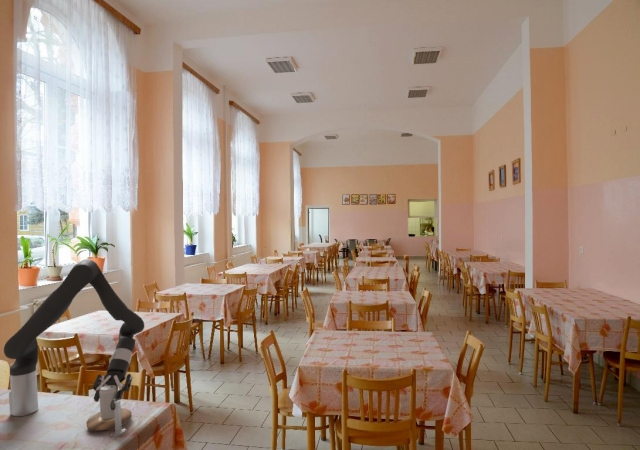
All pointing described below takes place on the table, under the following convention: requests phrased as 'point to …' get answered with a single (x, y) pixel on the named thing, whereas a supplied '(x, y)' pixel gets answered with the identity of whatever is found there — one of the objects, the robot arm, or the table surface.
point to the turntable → (107, 421)
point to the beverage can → (107, 401)
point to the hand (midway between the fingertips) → (106, 401)
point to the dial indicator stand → (117, 418)
